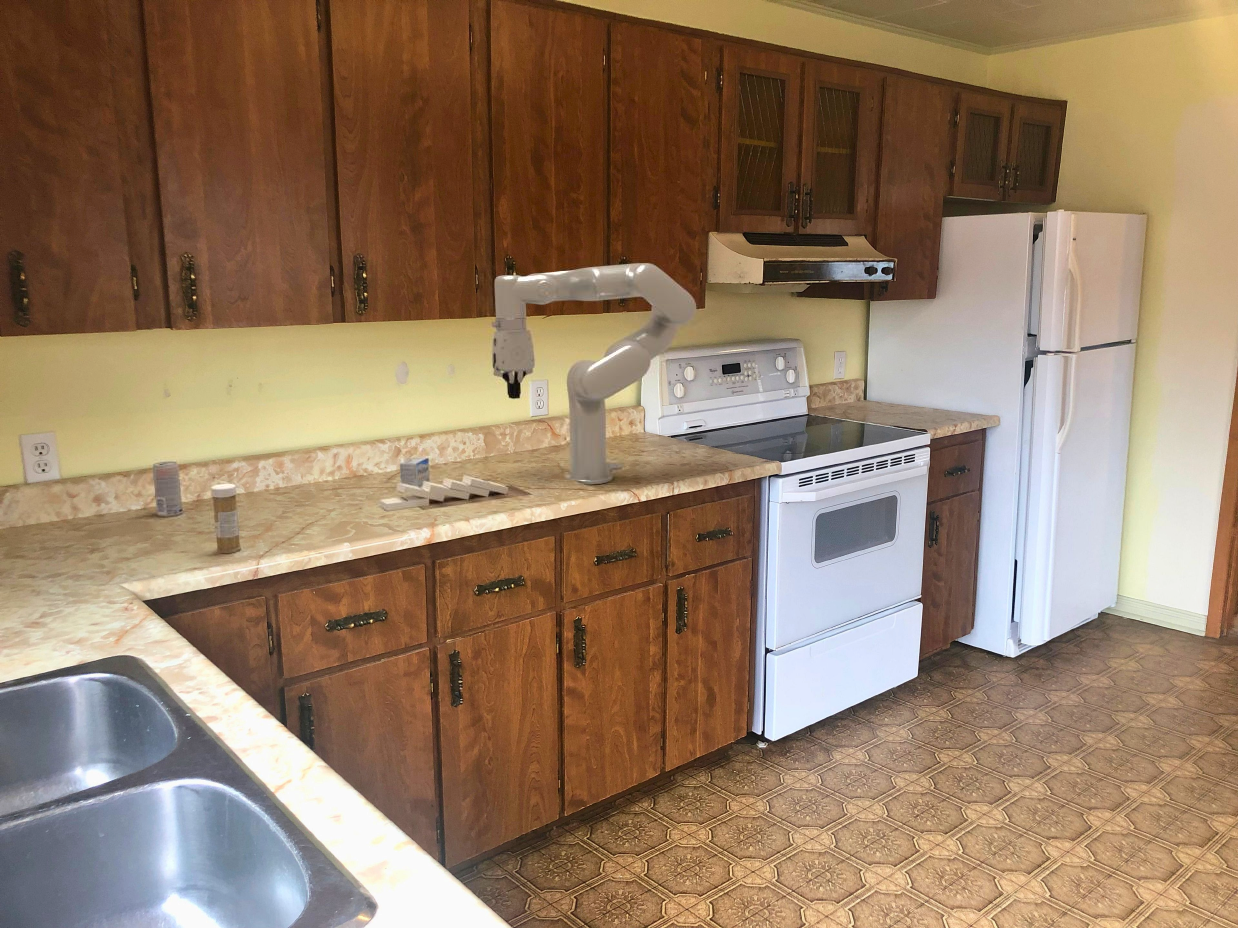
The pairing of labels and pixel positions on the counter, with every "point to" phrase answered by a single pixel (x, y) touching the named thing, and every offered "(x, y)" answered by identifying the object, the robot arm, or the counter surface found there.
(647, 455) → the counter surface
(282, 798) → the counter surface
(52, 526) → the counter surface
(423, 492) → the domino
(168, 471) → the energy drink
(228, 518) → the sprinkles bottle
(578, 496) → the counter surface
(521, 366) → the robot arm
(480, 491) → the domino
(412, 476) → the medicine box
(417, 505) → the domino
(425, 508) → the walnut board
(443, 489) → the domino
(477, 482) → the domino
